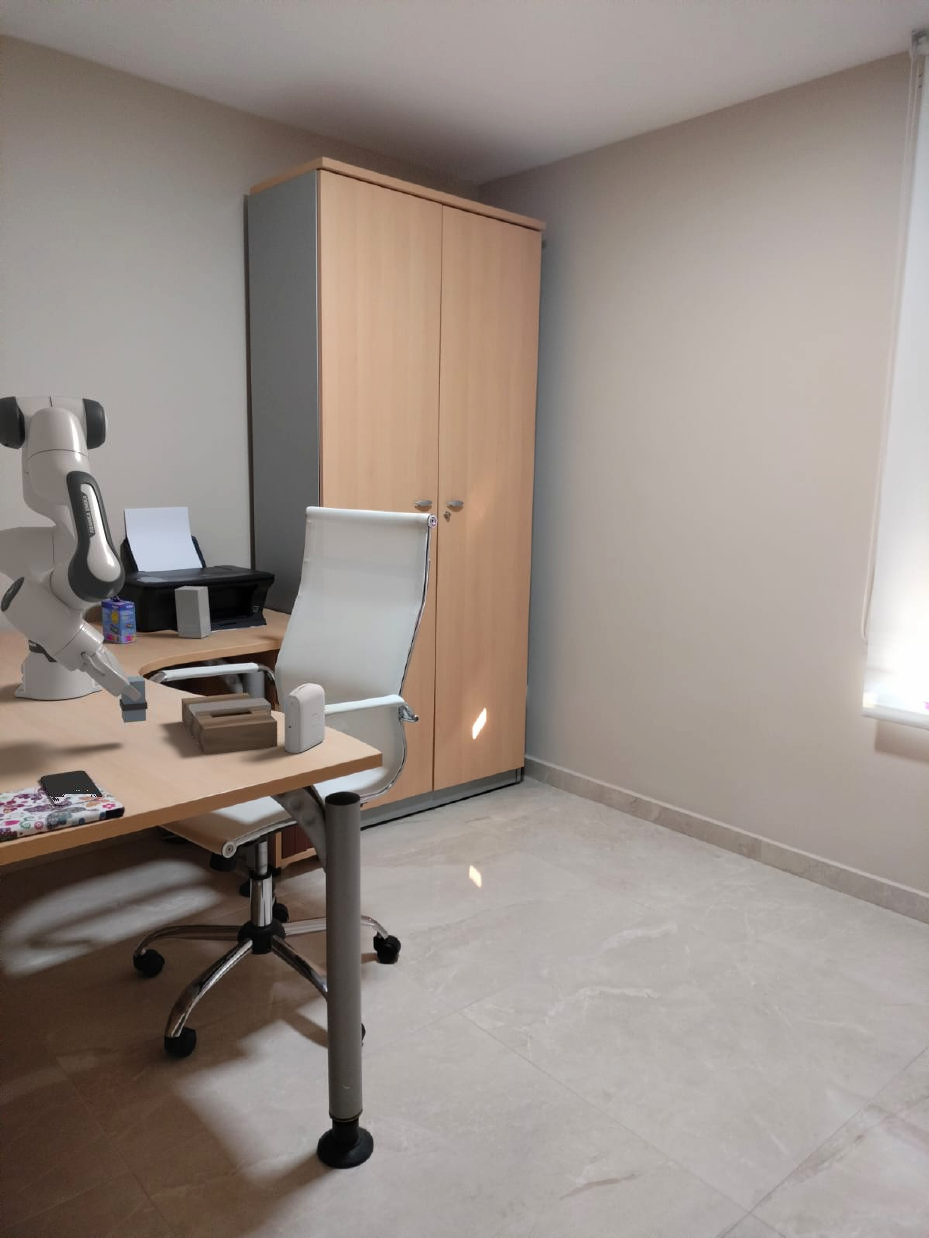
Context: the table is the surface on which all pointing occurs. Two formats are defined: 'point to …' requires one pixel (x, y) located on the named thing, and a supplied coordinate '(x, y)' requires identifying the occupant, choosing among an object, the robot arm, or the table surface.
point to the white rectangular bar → (230, 707)
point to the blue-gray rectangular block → (134, 702)
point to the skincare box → (192, 612)
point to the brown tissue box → (229, 726)
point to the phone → (69, 784)
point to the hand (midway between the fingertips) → (136, 694)
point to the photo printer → (304, 717)
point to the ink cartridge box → (118, 621)
